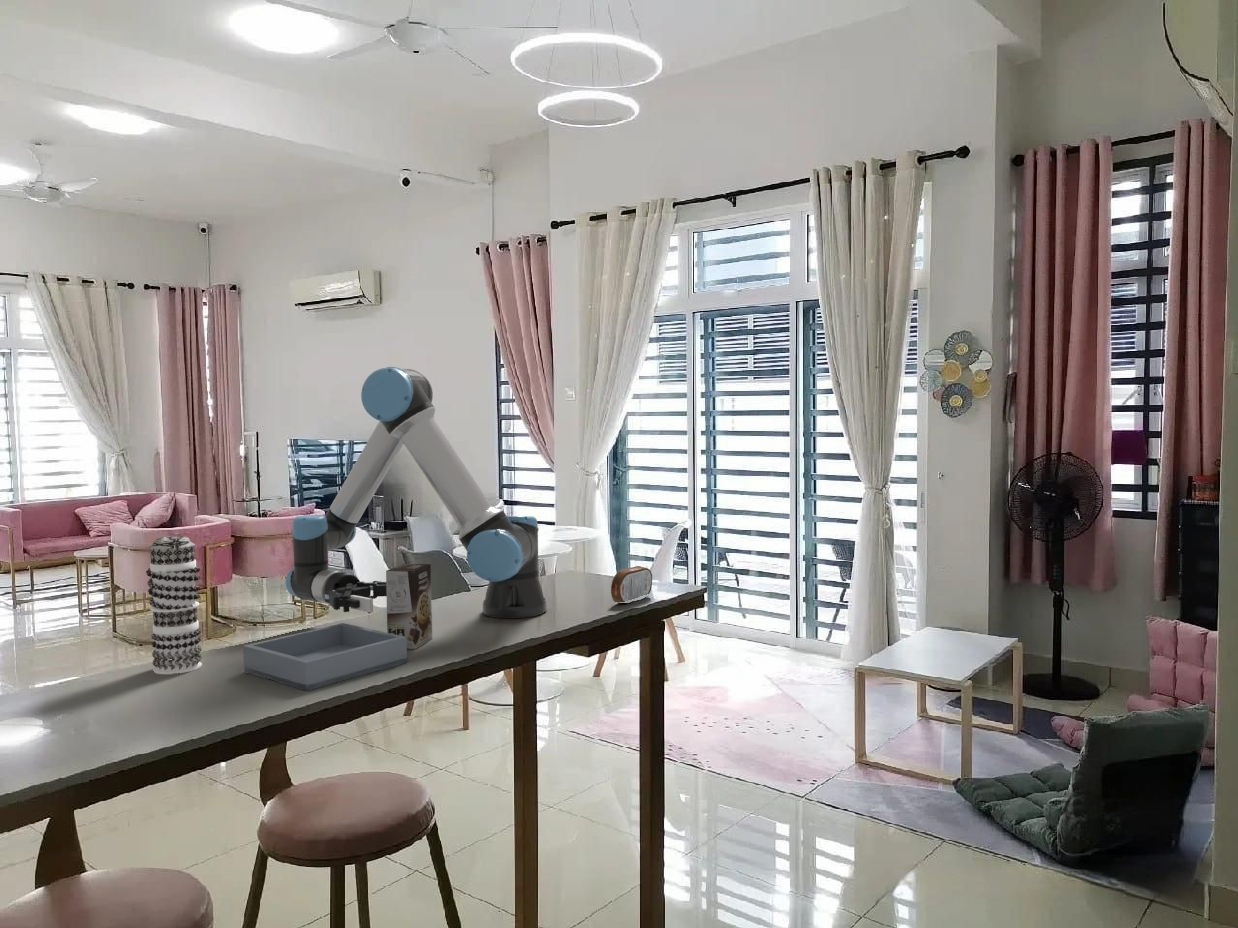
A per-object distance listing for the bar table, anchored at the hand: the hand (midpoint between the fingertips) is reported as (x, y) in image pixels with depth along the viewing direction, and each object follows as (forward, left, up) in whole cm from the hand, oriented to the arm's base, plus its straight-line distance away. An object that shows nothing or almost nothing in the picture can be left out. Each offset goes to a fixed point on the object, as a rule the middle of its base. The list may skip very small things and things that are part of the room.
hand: (398, 599), depth 196 cm
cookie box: (-1, +3, -9) cm, 10 cm away
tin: (-60, +16, -9) cm, 63 cm away
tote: (+20, +4, -9) cm, 23 cm away
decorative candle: (+37, -19, -9) cm, 43 cm away
